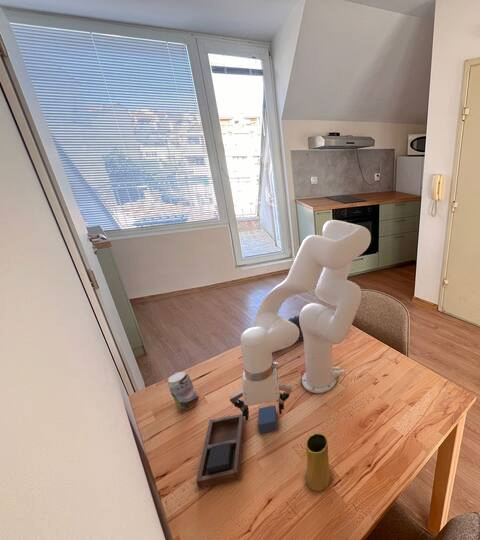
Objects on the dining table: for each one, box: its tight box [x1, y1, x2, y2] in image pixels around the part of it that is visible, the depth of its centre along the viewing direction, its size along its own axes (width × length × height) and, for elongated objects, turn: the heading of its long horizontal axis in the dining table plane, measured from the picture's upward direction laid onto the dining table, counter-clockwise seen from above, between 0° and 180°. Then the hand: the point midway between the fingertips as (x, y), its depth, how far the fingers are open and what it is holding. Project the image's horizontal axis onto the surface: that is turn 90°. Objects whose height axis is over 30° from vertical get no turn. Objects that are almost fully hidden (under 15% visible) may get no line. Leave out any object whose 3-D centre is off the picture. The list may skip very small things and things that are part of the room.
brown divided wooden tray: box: [195, 413, 245, 490], centre depth 82 cm, size 10×18×3 cm, turn 15°
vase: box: [305, 432, 331, 492], centre depth 74 cm, size 6×6×14 cm
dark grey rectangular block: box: [207, 442, 233, 475], centre depth 78 cm, size 5×6×4 cm
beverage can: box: [167, 370, 199, 411], centre depth 95 cm, size 6×7×12 cm
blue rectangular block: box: [257, 404, 278, 435], centre depth 90 cm, size 5×6×4 cm
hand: (264, 413), depth 88 cm, fingers open, 9 cm apart
